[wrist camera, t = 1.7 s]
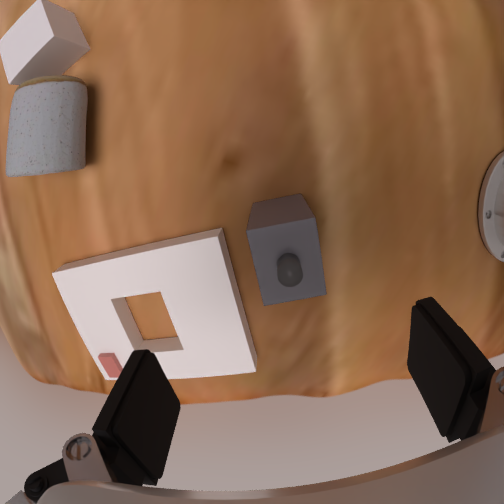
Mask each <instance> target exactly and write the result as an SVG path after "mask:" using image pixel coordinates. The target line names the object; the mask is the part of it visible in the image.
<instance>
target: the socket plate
mask: <svg viewBox="0 0 504 504" xmlns="http://www.w3.org/2000/svg"><path fill="white" fill-rule="evenodd" d="M52 275H53V277H54V280H55V282H56V284H57V287H58V289H59V291H60V294H61V296H62V298H63V300H64V303H65V305H66V307H67V309H68V311H69V313H70V315H71V317H72V319H73V321H74V323H75V325H76V327H77V329H78V331H79V333H80V335H81V337H82V339H83V341H84V343H85V345H86V346H87V348H88V350H89V352H90V354H91V355H92V357H93V359H94V361H95V362H96V364H97V366H98V368H99V369H100V371H101V373H102V374H103V376H104V378H105V379H106V380H117V379H118V377H119V375H120V373H121V372H122V370H123V368H124V366H125V364H126V362H127V360H128V359H129V357H130V355H131V353H132V352H133V351H134V350H143V349H148V350H150V352H151V353H154V354H155V355H156V357H157V359H158V361H159V363H160V365H161V367H162V369H163V371H164V373H165V375H166V377H167V379H180V378H196V377H210V376H221V375H231V374H241V373H249V372H256V366H257V354H256V351H255V347H254V344H253V340H252V337H251V333H250V329H249V326H248V322H247V319H246V315H245V311H244V308H243V304H242V301H241V297H240V293H239V289H238V286H237V282H236V278H235V275H234V271H233V267H232V263H231V260H230V256H229V252H228V248H227V245H226V241H225V237H224V233H223V229H222V228H218V229H213V230H209V231H204V232H199V233H195V234H190V235H186V236H181V237H177V238H172V239H168V240H163V241H159V242H154V243H150V244H146V245H141V246H137V247H133V248H128V249H124V250H120V251H116V252H111V253H107V254H103V255H99V256H95V257H91V258H87V259H83V260H79V261H75V262H71V263H67V264H64V265H62V266H61V267H60V268H58V269H57V270H55V271H54V272H53V273H52ZM159 291H161V294H162V297H163V299H164V302H165V305H166V307H167V310H168V312H169V315H170V317H171V320H172V322H173V325H174V327H175V330H176V332H177V335H178V337H172V338H162V339H151V340H143V338H142V336H141V334H140V331H139V329H138V327H137V325H136V323H135V320H134V318H133V316H132V314H131V311H130V309H129V307H128V304H127V302H126V300H125V297H127V296H134V295H140V294H146V293H153V292H159Z"/></svg>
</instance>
